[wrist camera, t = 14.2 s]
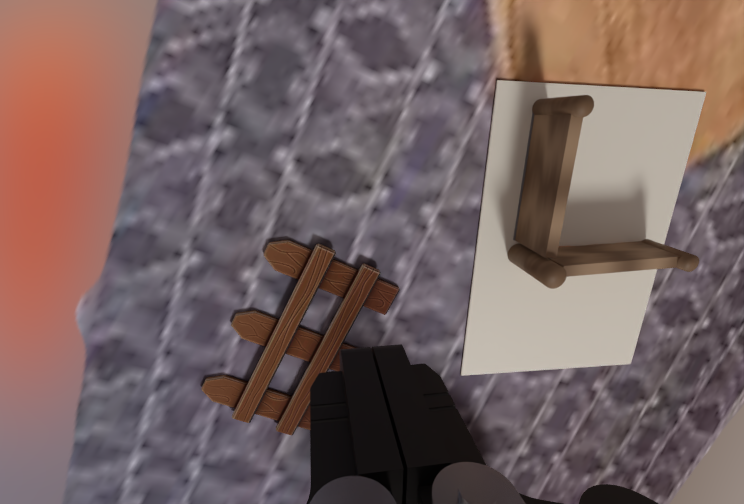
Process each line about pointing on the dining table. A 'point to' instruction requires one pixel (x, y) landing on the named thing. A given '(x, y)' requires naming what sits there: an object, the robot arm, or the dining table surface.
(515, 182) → the card
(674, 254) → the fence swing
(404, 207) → the dining table surface
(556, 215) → the fence fixed
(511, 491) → the robot arm
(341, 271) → the decorative fence
